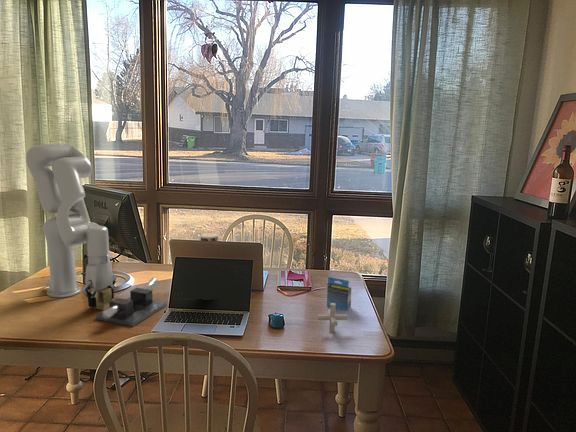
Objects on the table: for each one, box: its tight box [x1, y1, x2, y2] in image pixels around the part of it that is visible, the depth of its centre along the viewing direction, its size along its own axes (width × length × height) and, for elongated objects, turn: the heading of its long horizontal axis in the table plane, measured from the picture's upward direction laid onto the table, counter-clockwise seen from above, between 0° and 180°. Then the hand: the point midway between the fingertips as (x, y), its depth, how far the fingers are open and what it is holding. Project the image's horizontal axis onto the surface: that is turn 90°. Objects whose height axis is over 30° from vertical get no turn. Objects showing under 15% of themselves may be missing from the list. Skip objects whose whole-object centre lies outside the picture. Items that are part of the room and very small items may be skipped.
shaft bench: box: [95, 277, 167, 327], centre depth 175 cm, size 16×29×9 cm, turn 160°
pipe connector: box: [317, 303, 348, 333], centre depth 163 cm, size 10×10×10 cm
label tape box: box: [326, 276, 352, 311], centre depth 184 cm, size 9×4×12 cm, turn 62°
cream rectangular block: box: [90, 287, 113, 311], centre depth 180 cm, size 4×6×7 cm
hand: (101, 302), depth 180 cm, fingers open, 9 cm apart
